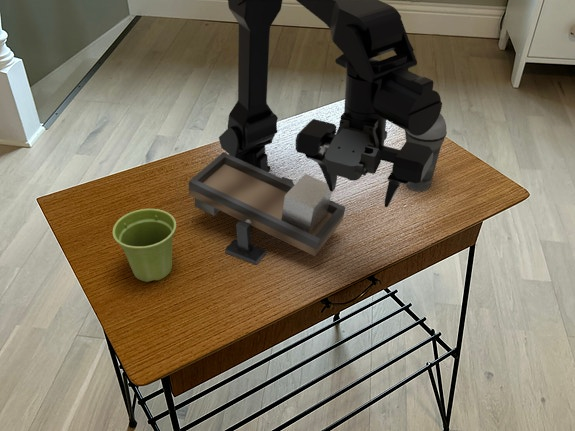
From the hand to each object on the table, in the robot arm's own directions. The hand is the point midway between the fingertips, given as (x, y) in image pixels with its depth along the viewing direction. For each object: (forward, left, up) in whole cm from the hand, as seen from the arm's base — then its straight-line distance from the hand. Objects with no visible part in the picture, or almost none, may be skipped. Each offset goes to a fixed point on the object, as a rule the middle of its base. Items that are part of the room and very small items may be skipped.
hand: (359, 197), depth 90 cm
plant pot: (-27, -18, -12) cm, 35 cm away
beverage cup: (+2, +24, -12) cm, 27 cm away
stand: (-16, -1, -12) cm, 20 cm away
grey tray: (-17, -1, -10) cm, 20 cm away
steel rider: (-9, -1, -7) cm, 11 cm away
